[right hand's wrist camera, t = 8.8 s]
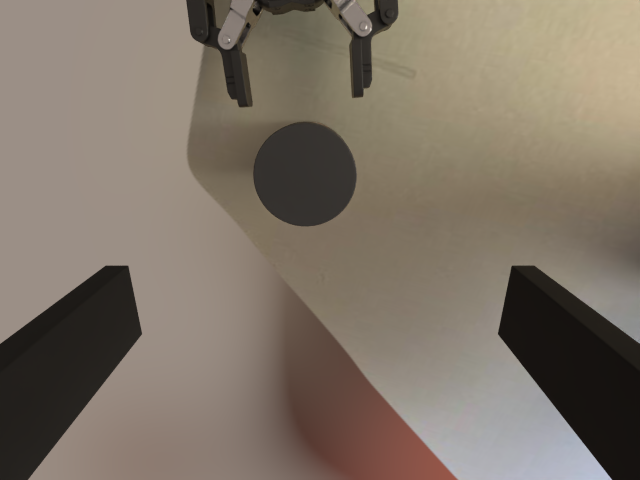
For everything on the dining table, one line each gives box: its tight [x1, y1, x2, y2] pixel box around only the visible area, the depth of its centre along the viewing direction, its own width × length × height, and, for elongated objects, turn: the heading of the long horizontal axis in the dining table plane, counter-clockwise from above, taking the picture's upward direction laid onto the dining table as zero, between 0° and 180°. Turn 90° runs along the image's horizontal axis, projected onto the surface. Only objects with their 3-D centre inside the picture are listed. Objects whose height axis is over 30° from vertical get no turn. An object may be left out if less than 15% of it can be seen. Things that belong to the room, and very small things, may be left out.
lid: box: [254, 122, 357, 226], centre depth 20 cm, size 5×5×2 cm
